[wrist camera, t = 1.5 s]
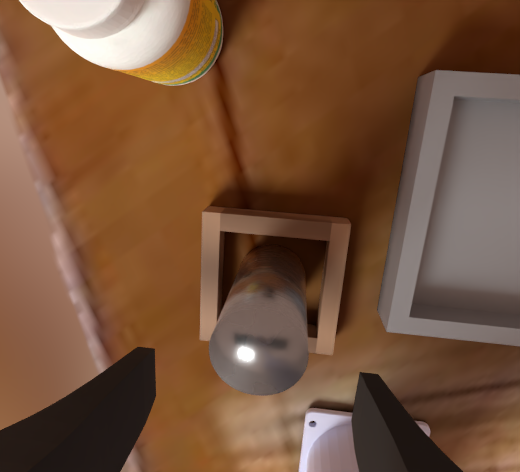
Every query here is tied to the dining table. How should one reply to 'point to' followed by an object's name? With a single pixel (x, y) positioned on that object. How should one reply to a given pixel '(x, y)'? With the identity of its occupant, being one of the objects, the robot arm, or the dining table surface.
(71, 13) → the supplement bottle
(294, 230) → the socket block
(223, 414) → the dining table surface
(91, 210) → the dining table surface
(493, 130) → the tray
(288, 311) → the pin
